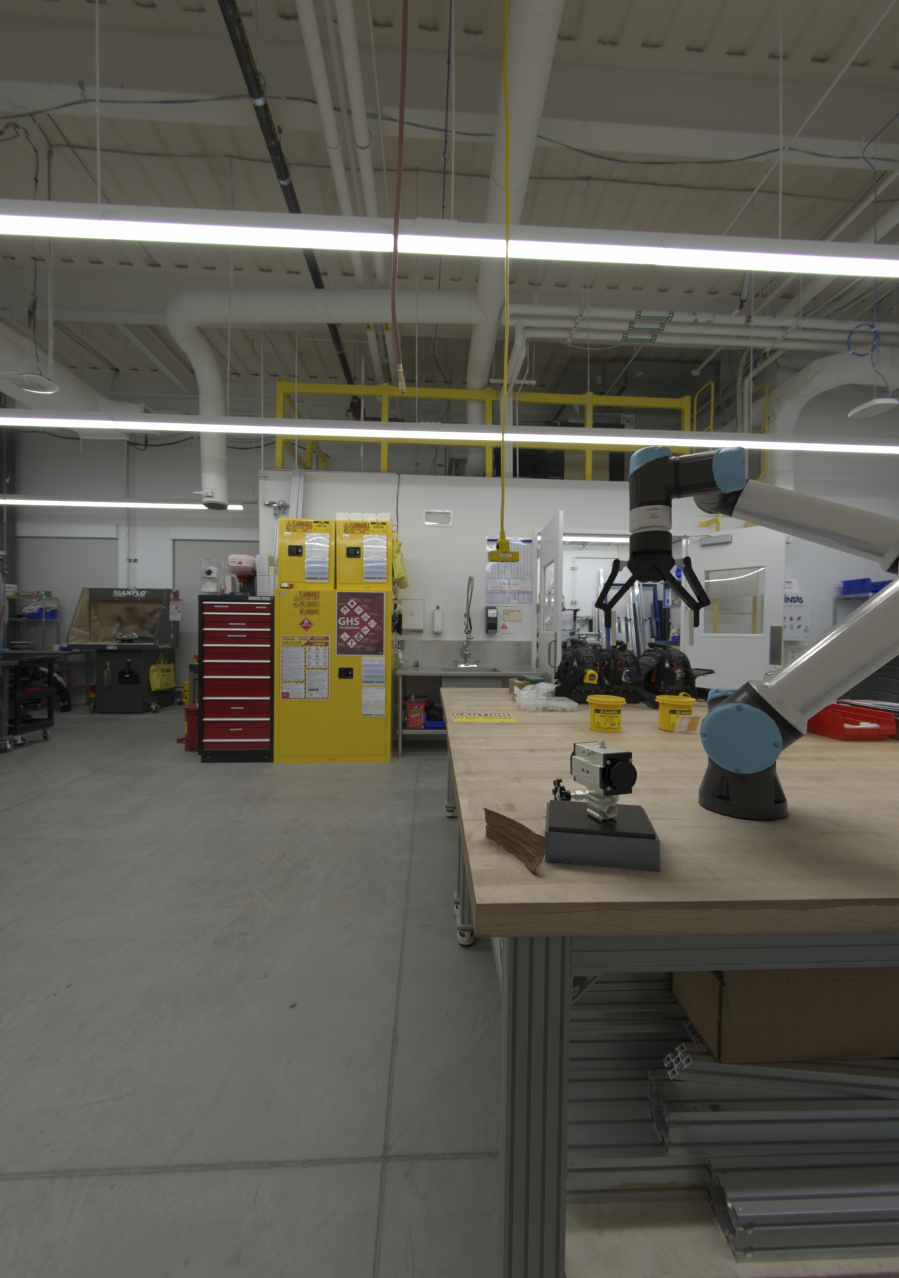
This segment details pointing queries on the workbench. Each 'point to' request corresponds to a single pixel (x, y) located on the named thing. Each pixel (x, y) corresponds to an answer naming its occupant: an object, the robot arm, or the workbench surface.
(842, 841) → the workbench surface
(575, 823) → the stand
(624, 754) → the pneumatic valve
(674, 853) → the workbench surface
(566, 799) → the valve
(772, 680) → the robot arm
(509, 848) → the wood plank
